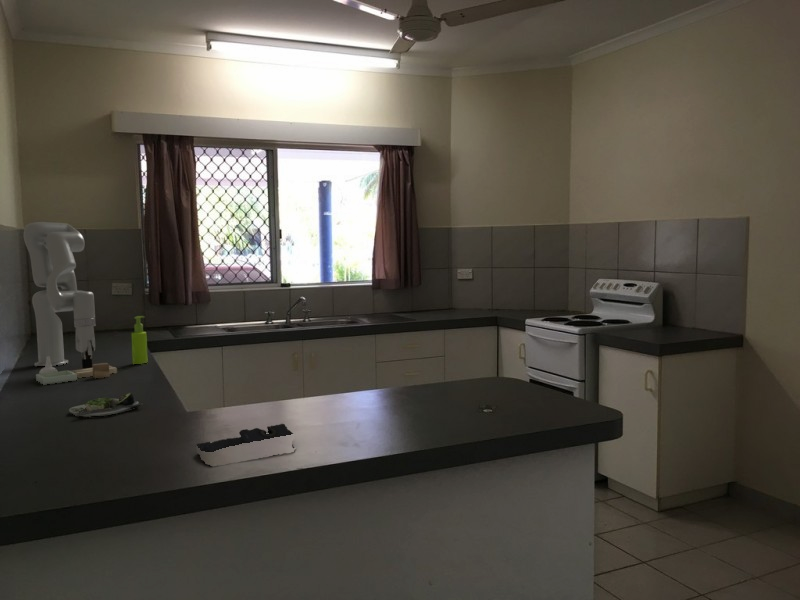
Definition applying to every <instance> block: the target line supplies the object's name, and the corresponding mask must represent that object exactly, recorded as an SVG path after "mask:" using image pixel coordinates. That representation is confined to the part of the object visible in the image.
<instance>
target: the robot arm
mask: <svg viewBox="0 0 800 600" xmlns="http://www.w3.org/2000/svg"><path fill="white" fill-rule="evenodd" d="M23 240H24V241H23V242H24V243H25V246H26V249H27V251H28V253H29V258H30V264H31V272H32V278H33V279H32V280H33V282H34V284H35V285H36V287H40V288H46V289H45V290H44V289H43V290H40V291H37V292H35V293H34V294H33V296H32V298H31V302H32V308H33V311H34V316H35V324H36V326H35V327H36V340H37V357H38V361H36V362H34V367H37V366H45V365H46V358H47V357H50V361H51V365H52V367H56V365H58V366H63V364H64V365H67V364H69V359H65V351H64V348H65V347H64V335H63V323H62V320H61V318H60V317H59V316H58V314H56V313H60V312H62V313H63V312H73V324H74V326H73V327H74V328H75V350H76V351H77V352H79V353H81V365H82V368H81V369H87V368H93V367H92V365H93V352H95V350H96V339H95V328H94V327H96V326H97V324H96V310H95V309H96V308H95V296H94V292H92V291H85V290H78V285H77V277H76V274H75V269H77V263H76V260H75V257H74V254H73V253H81V252H82V251H84V249H85V245H86V244H85V239H84V236H83V234H82V233H80V231H79V230H77V229H76V228H74V226H72V225H71V224H69V223H66V222H51V221H49V222H48V221H37V222H30V223H28V224H26V225H25V226H24V229H23ZM58 287H60V288H61V289H59V288H58ZM66 363H67V364H66Z"/></svg>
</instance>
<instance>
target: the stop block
mask: <svg viewBox="0 0 800 600" xmlns="http://www.w3.org/2000/svg"><path fill="white" fill-rule="evenodd" d="M109 366H110V364H109V363H108V362H100V363H94V364H93V363H92V368H93V377H92V378H93V379H96V378H98V379H103V378H104V377H105V378H110V376H111V374H109ZM105 378H104V379H105ZM96 380H97V379H96Z"/></svg>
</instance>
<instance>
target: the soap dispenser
mask: <svg viewBox="0 0 800 600" xmlns="http://www.w3.org/2000/svg"><path fill="white" fill-rule="evenodd" d="M133 318H134V319H135V324H134V325H133V328H134V332H131V356H132V365H134V364H141V365H143V364H142V363H147V362H148V363H149V359H148V338H147V332H146V331H144V324H143V323H141V319H144V318H146V317H145V315H137V316H134V317H133ZM148 363H147V364H148Z"/></svg>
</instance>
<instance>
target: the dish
mask: <svg viewBox="0 0 800 600" xmlns="http://www.w3.org/2000/svg"><path fill="white" fill-rule="evenodd" d="M71 371H72V370H69V369H68V370H61V371H58V372H51V373H43V374H39V373H37V374H35V380H36V382H37V381H38V382H37V383H39V382H40V383H39V384H41V385H42V384H43V385H42V386H48V385H47V384H50V385H56V384H55V383H57V384H63V383H62V382H65V383H69V382H68V381H72V382H77V381H78V378H77V374H76V373H74V372H71ZM76 380H77V381H76Z"/></svg>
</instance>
